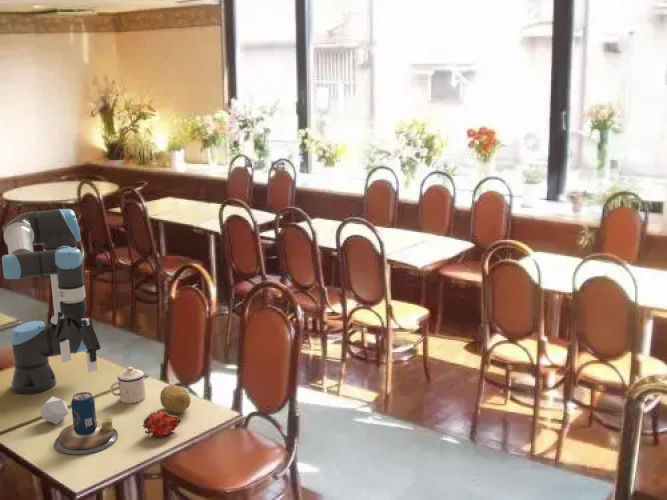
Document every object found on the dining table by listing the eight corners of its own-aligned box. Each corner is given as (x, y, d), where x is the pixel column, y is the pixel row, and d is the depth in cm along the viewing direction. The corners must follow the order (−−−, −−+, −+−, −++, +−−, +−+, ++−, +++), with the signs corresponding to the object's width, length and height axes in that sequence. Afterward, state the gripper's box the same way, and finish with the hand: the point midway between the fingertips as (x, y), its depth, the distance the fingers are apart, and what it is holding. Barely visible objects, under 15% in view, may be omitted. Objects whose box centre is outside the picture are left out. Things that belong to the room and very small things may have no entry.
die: (75, 421, 268) (70, 393, 271) (59, 419, 260) (55, 391, 263) (53, 429, 269) (50, 401, 273) (37, 427, 261) (33, 398, 265)
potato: (180, 399, 282) (179, 378, 280) (197, 414, 270) (196, 391, 268) (154, 406, 276) (152, 385, 274) (170, 421, 265) (168, 399, 263)
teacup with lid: (141, 391, 289) (139, 360, 286) (149, 400, 281) (147, 369, 279) (108, 398, 283) (105, 367, 280) (115, 408, 276) (112, 376, 273)
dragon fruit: (140, 441, 255) (178, 439, 260) (145, 436, 248) (184, 434, 253) (140, 414, 258) (177, 413, 263) (144, 408, 251) (182, 407, 256)
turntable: (57, 452, 244) (55, 437, 243) (61, 429, 259) (60, 415, 258) (112, 446, 247) (111, 431, 246) (113, 423, 263) (112, 409, 261)
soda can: (70, 430, 253) (67, 395, 251) (92, 424, 258) (88, 389, 255) (79, 438, 248) (75, 402, 245) (100, 432, 252) (97, 396, 249)
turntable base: (42, 443, 252) (42, 441, 252) (94, 421, 266) (94, 419, 266) (78, 461, 240) (78, 459, 240) (130, 437, 255) (130, 435, 255)
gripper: (38, 295, 247) (45, 360, 252) (86, 310, 232) (93, 379, 237) (59, 289, 253) (66, 353, 258) (108, 304, 238) (114, 371, 243)
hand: (79, 366), depth 248 cm, fingers open, 13 cm apart
